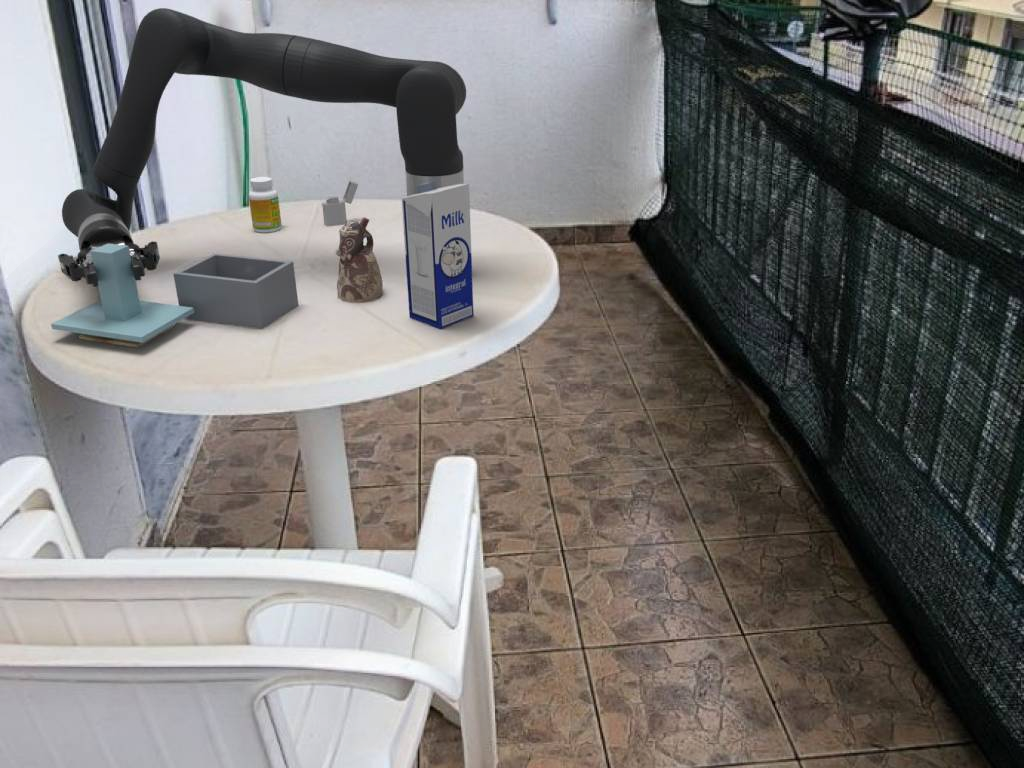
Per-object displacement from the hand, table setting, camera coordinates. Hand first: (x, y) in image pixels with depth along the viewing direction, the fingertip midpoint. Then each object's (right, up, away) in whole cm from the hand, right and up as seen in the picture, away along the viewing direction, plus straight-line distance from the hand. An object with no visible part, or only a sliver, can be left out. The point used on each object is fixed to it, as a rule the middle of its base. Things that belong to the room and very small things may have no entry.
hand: (116, 276), depth 129 cm
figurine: (+31, -1, +19) cm, 36 cm away
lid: (-1, -6, +5) cm, 8 cm away
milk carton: (+44, -5, +10) cm, 45 cm away
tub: (+13, -4, +13) cm, 19 cm away
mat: (-1, -7, +6) cm, 10 cm away
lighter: (+21, +17, +55) cm, 62 cm away
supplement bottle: (+7, +15, +52) cm, 55 cm away
